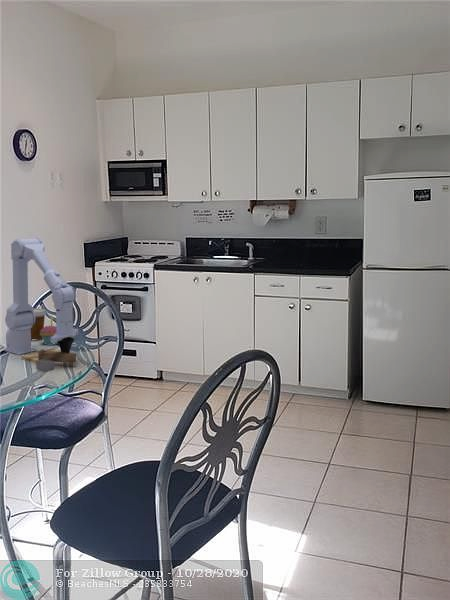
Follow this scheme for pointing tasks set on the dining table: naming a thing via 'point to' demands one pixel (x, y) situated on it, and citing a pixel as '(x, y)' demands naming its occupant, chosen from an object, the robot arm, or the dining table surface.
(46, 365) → the stop block
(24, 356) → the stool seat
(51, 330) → the cupcake
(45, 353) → the hinged leg
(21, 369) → the dining table surface
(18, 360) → the dining table surface
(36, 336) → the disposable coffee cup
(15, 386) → the dining table surface
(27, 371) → the dining table surface
